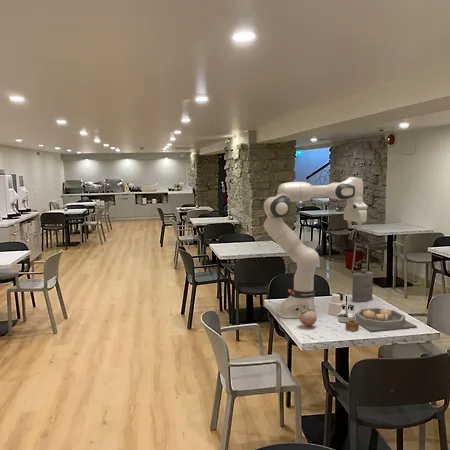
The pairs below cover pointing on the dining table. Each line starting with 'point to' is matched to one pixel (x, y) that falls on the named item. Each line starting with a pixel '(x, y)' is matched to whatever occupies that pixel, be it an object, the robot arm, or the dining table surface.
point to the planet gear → (352, 325)
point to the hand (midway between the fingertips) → (354, 229)
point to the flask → (362, 286)
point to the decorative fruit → (308, 317)
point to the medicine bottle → (336, 304)
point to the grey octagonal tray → (382, 320)
